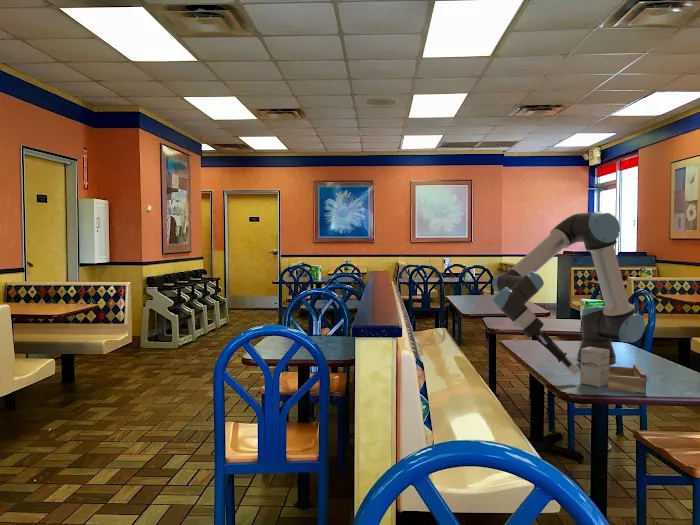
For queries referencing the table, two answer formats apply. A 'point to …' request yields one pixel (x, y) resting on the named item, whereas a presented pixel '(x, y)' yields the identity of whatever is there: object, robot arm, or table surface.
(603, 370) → the supplement box
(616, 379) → the brown wooden frame
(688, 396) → the table surface
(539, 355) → the table surface
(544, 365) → the table surface
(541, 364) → the table surface
